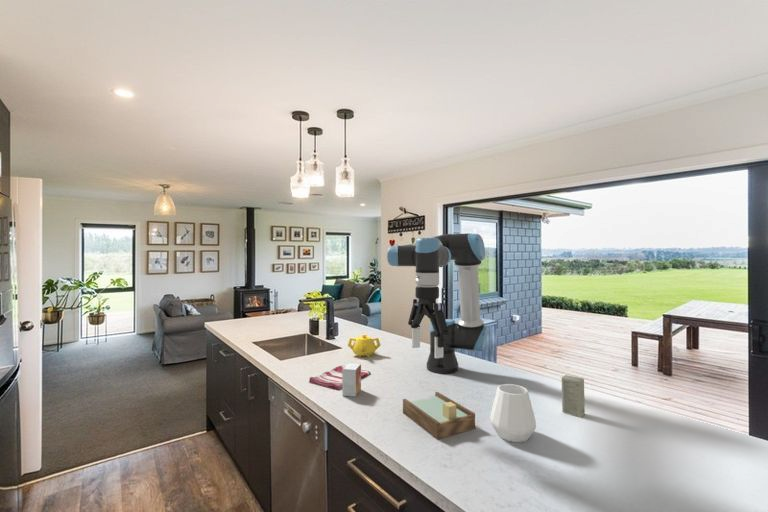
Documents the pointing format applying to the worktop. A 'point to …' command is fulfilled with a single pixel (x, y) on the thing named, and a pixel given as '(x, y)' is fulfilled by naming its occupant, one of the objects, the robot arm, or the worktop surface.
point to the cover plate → (439, 409)
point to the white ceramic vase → (512, 413)
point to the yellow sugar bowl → (364, 345)
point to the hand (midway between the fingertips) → (426, 352)
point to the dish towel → (333, 378)
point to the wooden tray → (440, 428)
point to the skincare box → (573, 395)
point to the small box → (351, 380)
